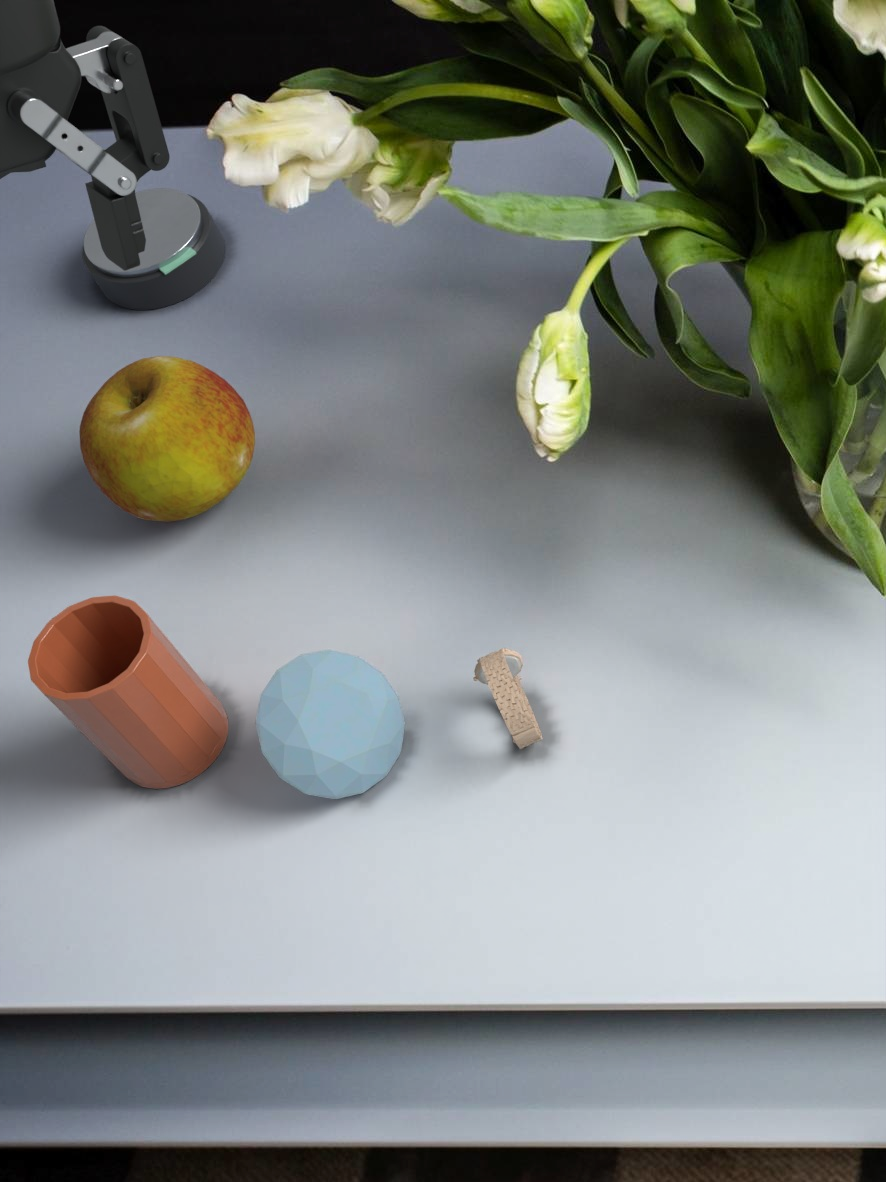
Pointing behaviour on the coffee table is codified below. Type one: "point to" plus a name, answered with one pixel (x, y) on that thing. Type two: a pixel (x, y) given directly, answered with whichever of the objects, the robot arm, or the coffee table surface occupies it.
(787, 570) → the coffee table surface
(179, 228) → the scale
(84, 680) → the cup
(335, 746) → the gemstone
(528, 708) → the wristwatch
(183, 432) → the fruit
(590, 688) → the coffee table surface
